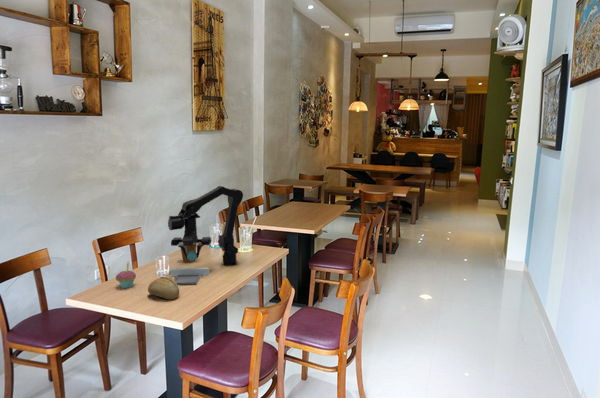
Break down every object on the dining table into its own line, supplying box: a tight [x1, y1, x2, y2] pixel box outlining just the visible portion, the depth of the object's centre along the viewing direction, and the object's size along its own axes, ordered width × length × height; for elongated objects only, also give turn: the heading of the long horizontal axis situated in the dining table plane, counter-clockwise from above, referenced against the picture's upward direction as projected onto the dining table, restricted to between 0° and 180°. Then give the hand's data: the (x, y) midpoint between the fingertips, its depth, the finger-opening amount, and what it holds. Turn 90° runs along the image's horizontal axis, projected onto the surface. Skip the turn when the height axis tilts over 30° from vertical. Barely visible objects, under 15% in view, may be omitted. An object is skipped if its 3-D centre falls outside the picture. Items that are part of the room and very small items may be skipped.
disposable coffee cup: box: [180, 237, 197, 264], centre depth 240 cm, size 10×10×12 cm
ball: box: [187, 251, 198, 262], centre depth 223 cm, size 5×5×5 cm
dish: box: [173, 274, 202, 286], centre depth 210 cm, size 11×11×1 cm
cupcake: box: [115, 261, 137, 289], centre depth 203 cm, size 9×8×12 cm
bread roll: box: [147, 276, 180, 300], centre depth 191 cm, size 10×15×8 cm, turn 65°
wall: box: [170, 267, 210, 277], centre depth 217 cm, size 18×1×4 cm, turn 91°
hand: (192, 258), depth 223 cm, fingers closed on ball, 5 cm apart
